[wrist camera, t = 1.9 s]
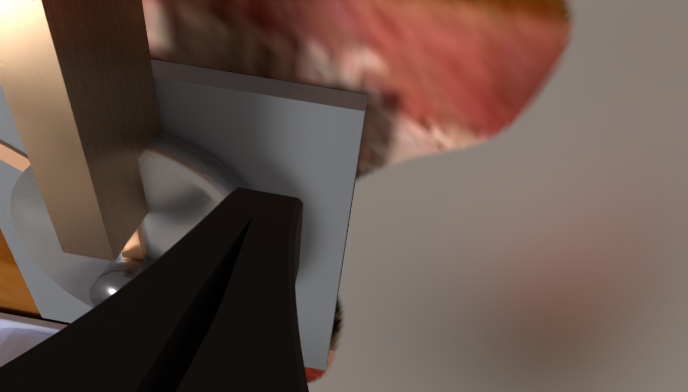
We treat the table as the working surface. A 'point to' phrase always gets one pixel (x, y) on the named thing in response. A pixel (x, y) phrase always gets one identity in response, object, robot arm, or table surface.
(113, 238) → the cam
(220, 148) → the stand plate
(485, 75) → the table surface
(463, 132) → the table surface
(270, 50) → the table surface
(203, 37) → the table surface
